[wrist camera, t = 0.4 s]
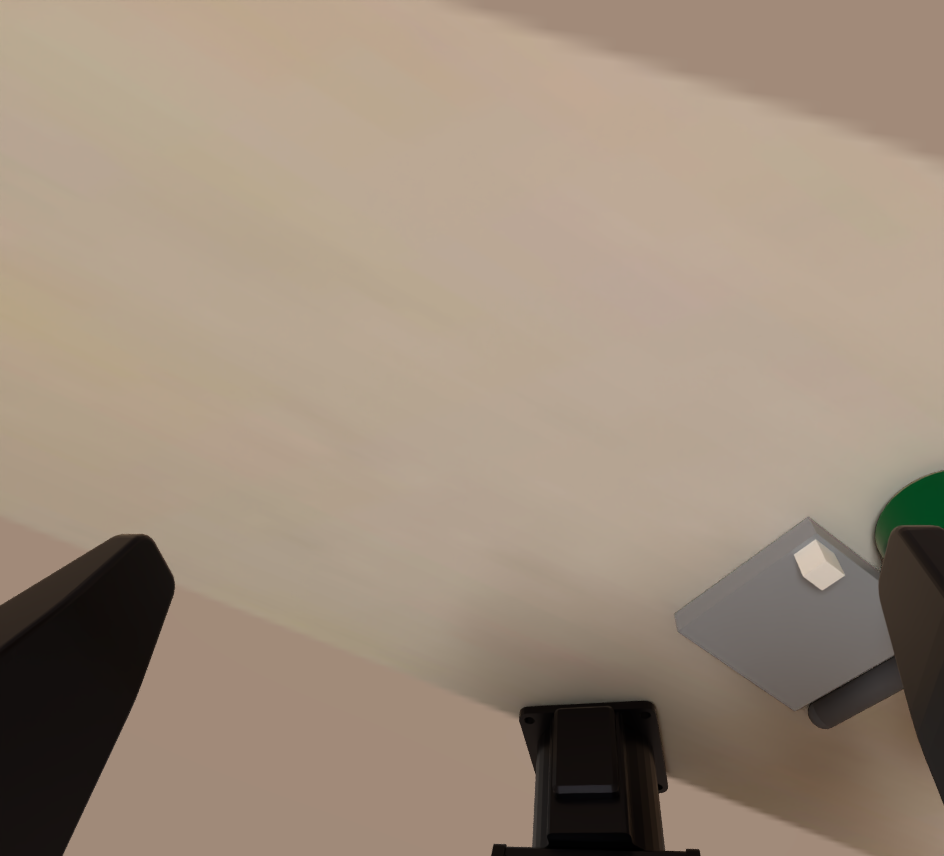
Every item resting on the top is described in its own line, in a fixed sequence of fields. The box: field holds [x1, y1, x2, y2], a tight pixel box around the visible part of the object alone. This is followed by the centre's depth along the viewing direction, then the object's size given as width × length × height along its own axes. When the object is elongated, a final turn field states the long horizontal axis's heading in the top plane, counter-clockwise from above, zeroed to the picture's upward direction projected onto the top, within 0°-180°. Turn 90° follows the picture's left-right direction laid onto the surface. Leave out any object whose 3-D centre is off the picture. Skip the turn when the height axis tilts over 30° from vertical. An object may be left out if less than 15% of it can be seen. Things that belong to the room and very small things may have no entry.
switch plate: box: [675, 517, 894, 711], centre depth 27 cm, size 7×7×2 cm
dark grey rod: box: [808, 656, 904, 729], centre depth 29 cm, size 7×1×1 cm, turn 144°
